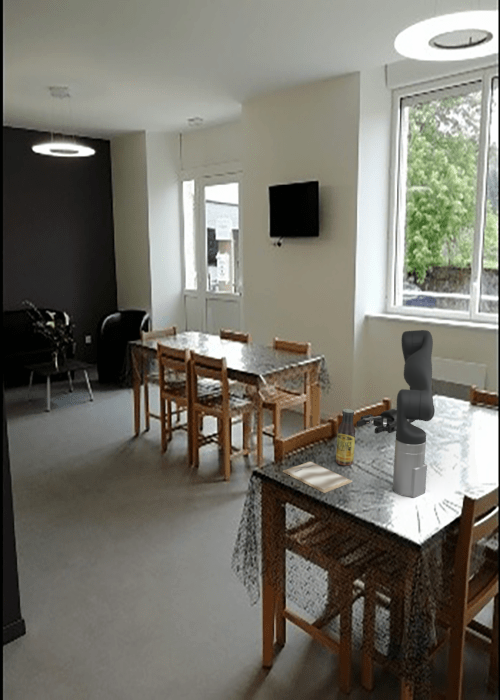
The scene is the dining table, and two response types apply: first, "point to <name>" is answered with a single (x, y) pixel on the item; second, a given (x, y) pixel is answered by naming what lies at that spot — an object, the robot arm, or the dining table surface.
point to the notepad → (317, 476)
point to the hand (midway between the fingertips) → (366, 427)
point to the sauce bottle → (346, 439)
